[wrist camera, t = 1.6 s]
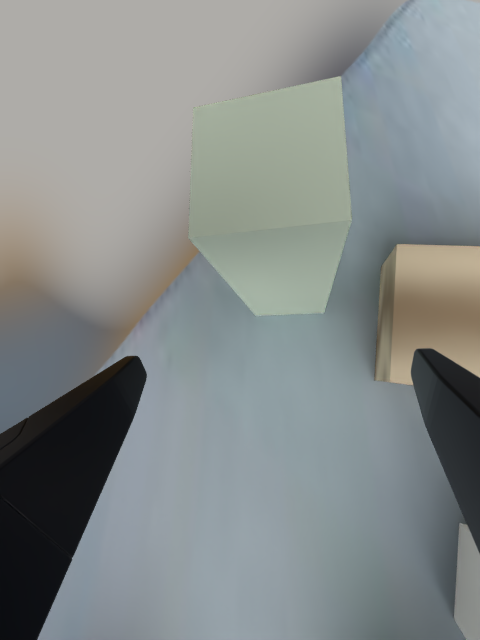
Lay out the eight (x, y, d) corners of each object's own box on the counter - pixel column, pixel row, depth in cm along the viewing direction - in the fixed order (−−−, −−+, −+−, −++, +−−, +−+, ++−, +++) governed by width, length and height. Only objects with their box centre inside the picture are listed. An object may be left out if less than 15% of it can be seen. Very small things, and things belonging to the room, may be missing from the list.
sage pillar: (324, 313, 21) (352, 220, 8) (255, 316, 22) (188, 237, 9) (320, 248, 22) (340, 76, 9) (255, 254, 23) (193, 107, 10)
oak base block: (514, 398, 17) (573, 406, 14) (373, 380, 19) (390, 381, 16) (512, 274, 19) (565, 248, 15) (380, 268, 21) (396, 244, 17)
